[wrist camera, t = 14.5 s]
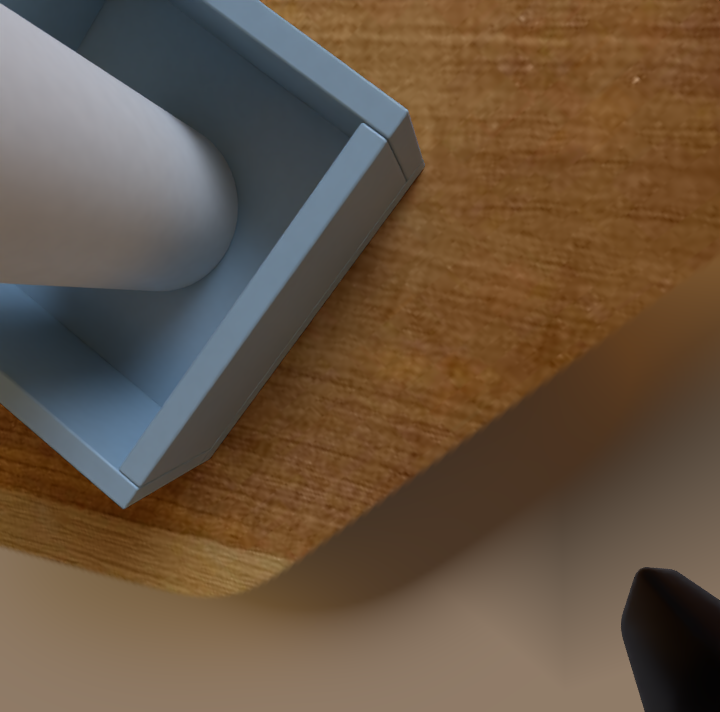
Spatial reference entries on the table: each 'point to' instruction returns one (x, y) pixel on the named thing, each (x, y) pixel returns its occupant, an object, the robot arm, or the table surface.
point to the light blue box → (243, 257)
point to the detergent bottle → (100, 177)
